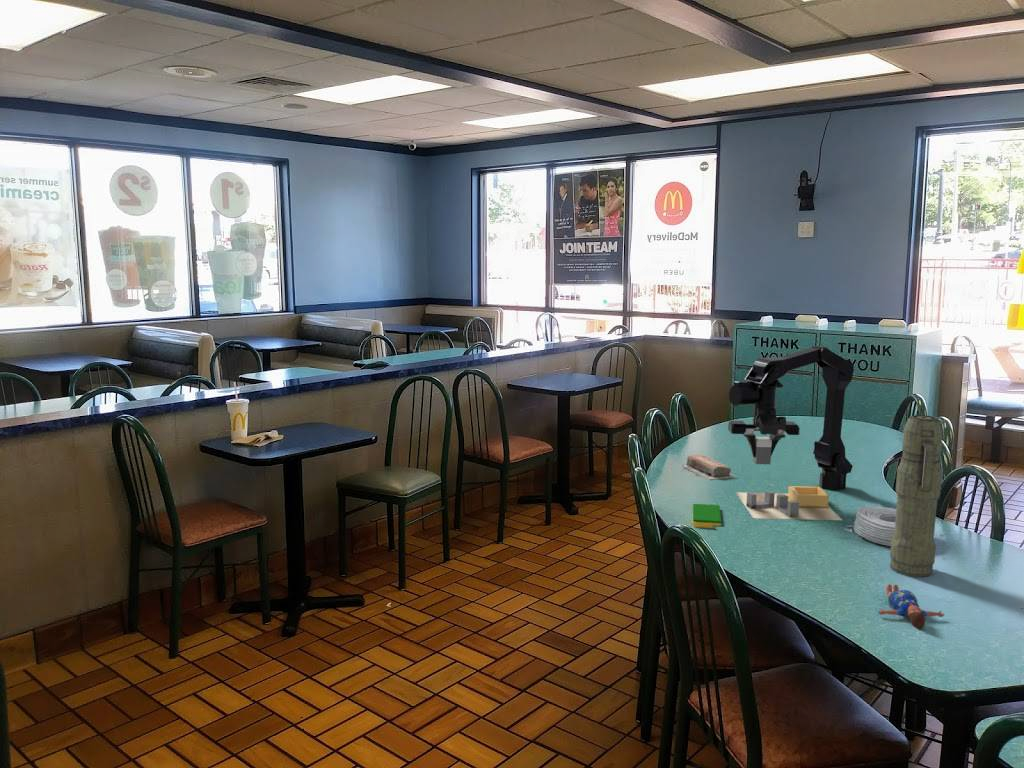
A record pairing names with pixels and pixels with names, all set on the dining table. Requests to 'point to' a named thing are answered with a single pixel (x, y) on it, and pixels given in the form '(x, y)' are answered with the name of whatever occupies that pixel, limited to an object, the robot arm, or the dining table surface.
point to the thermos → (917, 497)
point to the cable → (875, 524)
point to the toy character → (907, 606)
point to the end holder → (808, 496)
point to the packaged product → (707, 467)
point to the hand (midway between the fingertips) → (761, 457)
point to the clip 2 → (787, 506)
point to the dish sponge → (706, 515)
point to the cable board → (775, 514)
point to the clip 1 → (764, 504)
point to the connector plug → (762, 450)
